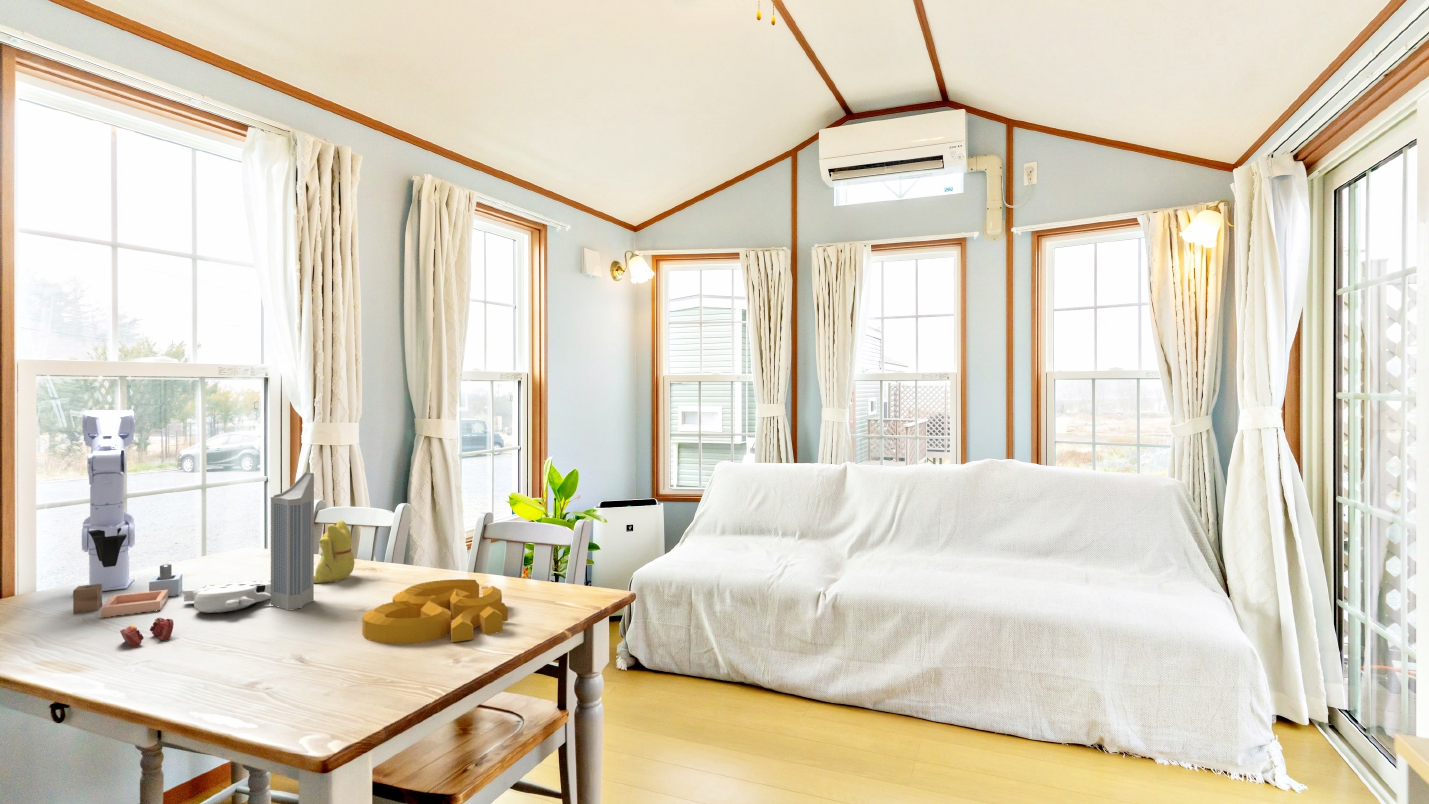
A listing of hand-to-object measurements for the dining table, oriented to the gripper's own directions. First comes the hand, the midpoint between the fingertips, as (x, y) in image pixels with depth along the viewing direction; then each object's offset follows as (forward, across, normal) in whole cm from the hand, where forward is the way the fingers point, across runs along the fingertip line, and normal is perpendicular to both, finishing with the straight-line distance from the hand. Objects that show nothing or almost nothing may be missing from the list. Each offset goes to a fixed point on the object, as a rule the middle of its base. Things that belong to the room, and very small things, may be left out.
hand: (107, 563), depth 157 cm
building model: (+10, +28, +29) cm, 41 cm away
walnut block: (+10, 0, -3) cm, 10 cm away
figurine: (+10, +13, +43) cm, 46 cm away
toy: (+10, +18, +20) cm, 28 cm away
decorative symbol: (+10, +62, +50) cm, 80 cm away
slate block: (+10, -1, +11) cm, 14 cm away
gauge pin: (+10, -1, +11) cm, 14 cm away
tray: (+10, +7, +4) cm, 12 cm away
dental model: (+10, +33, +3) cm, 35 cm away
